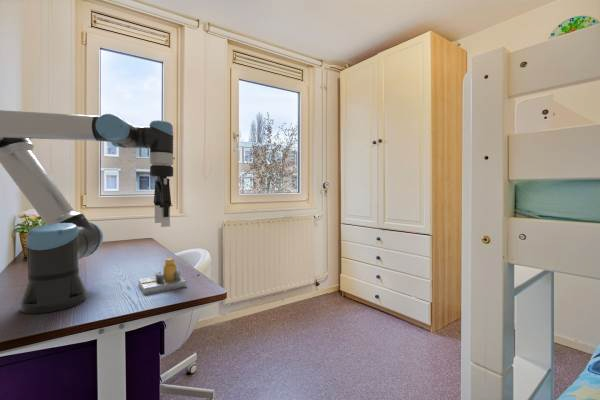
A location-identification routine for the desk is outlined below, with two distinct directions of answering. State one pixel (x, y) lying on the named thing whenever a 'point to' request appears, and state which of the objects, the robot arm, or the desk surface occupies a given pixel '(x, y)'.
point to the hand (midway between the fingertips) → (161, 224)
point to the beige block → (169, 269)
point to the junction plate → (161, 283)
